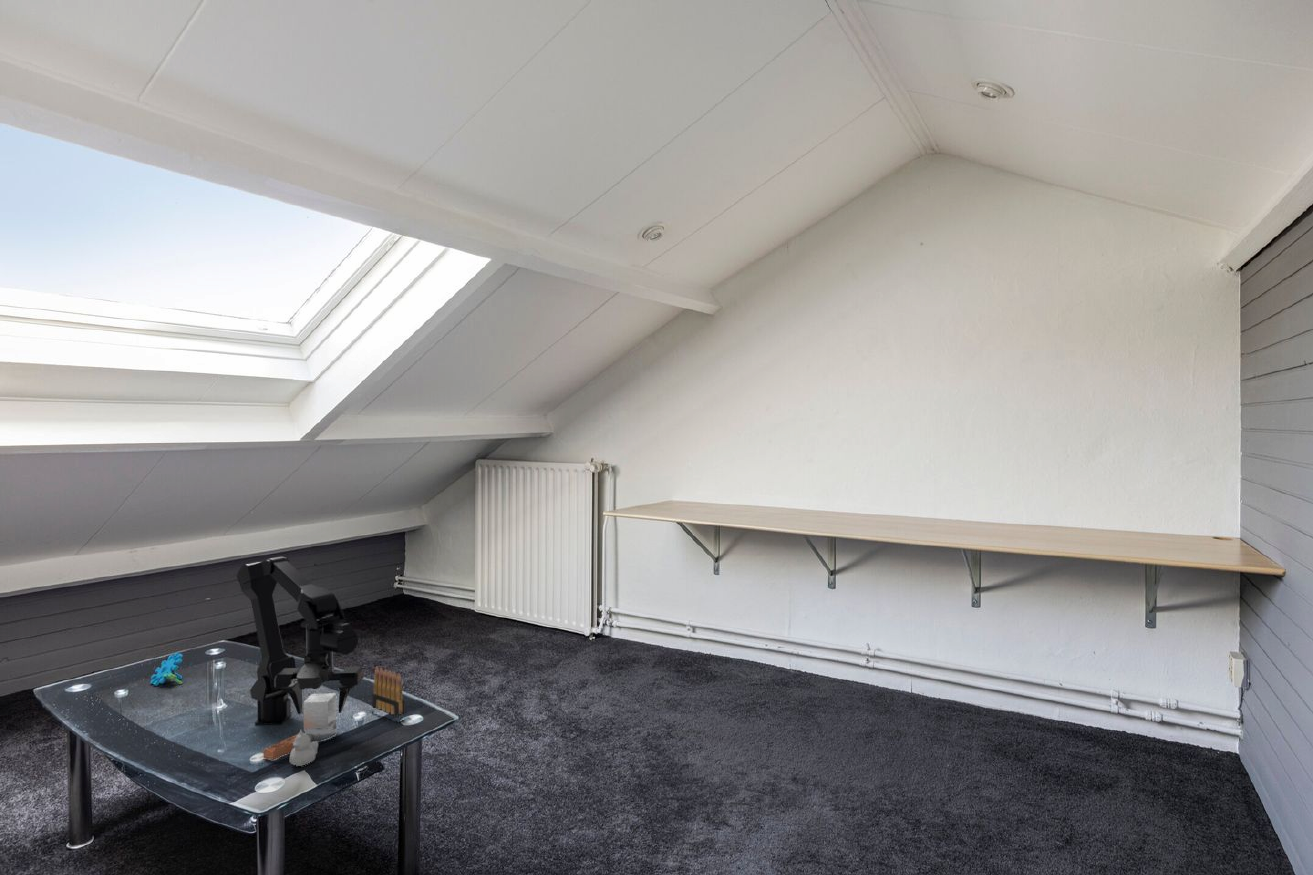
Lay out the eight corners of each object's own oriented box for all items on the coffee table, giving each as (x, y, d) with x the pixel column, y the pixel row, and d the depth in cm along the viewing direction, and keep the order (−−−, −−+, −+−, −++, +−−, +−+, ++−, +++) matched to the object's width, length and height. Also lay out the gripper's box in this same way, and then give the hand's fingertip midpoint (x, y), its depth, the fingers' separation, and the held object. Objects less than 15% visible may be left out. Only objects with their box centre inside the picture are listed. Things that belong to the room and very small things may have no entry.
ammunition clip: (371, 713, 197) (371, 666, 196) (378, 710, 198) (377, 664, 198) (398, 722, 191) (398, 674, 190) (404, 720, 192) (404, 672, 192)
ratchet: (321, 728, 187) (321, 703, 187) (343, 733, 184) (342, 708, 184) (257, 757, 171) (256, 730, 171) (279, 763, 168) (279, 736, 168)
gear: (146, 674, 220) (175, 646, 223) (163, 685, 223) (192, 657, 226) (151, 690, 211) (181, 661, 215) (169, 701, 215) (198, 672, 218)
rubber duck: (282, 766, 167) (282, 730, 166) (309, 755, 173) (309, 719, 172) (299, 772, 164) (299, 735, 164) (325, 760, 170) (325, 724, 170)
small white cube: (303, 728, 179) (303, 702, 179) (312, 719, 185) (311, 693, 185) (328, 728, 180) (328, 701, 180) (335, 718, 185) (335, 693, 185)
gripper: (263, 658, 173) (264, 727, 173) (349, 657, 175) (350, 725, 175) (283, 644, 184) (284, 708, 185) (364, 642, 186) (364, 706, 186)
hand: (320, 712), depth 182 cm, fingers open, 9 cm apart
